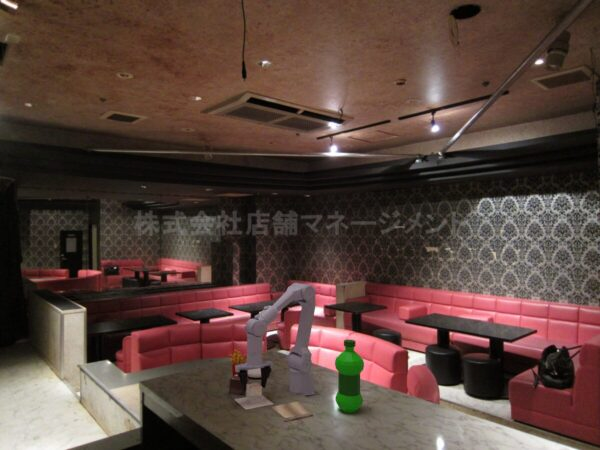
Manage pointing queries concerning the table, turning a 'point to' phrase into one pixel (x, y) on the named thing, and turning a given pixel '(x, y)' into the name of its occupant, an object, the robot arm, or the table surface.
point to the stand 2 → (292, 410)
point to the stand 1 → (247, 406)
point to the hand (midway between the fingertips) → (253, 388)
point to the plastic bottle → (349, 378)
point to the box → (236, 386)
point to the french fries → (237, 361)
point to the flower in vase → (255, 370)
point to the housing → (254, 393)
